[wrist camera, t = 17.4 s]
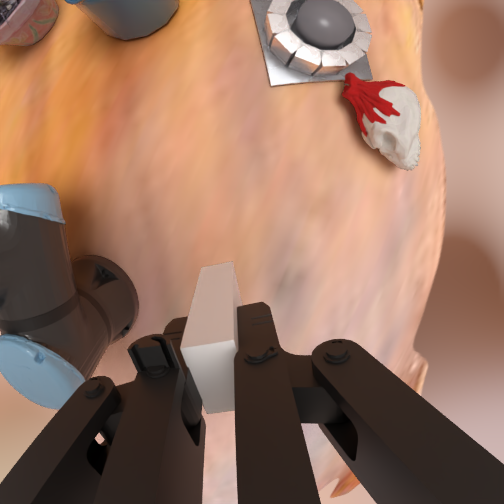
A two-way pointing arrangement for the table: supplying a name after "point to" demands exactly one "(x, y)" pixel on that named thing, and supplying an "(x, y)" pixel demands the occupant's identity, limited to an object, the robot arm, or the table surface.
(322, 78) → the square flange collar
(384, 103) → the candle
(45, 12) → the potted plant
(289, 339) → the table surface
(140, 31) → the wine bottle
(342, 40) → the cap
